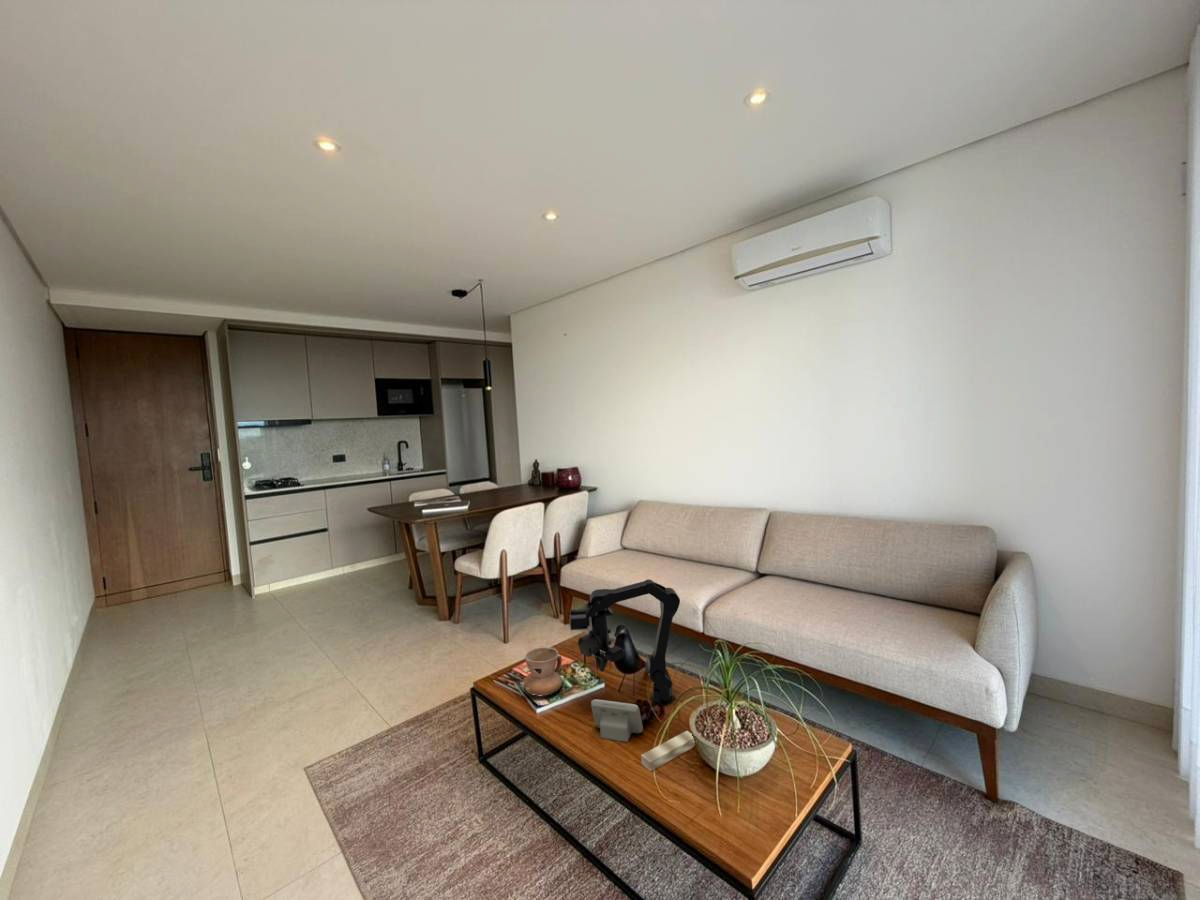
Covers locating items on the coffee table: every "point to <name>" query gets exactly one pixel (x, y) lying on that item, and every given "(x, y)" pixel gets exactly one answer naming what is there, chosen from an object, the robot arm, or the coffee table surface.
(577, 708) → the coffee table surface
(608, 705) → the digital clock
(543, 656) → the brown mug
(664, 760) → the pale gray wavy block
